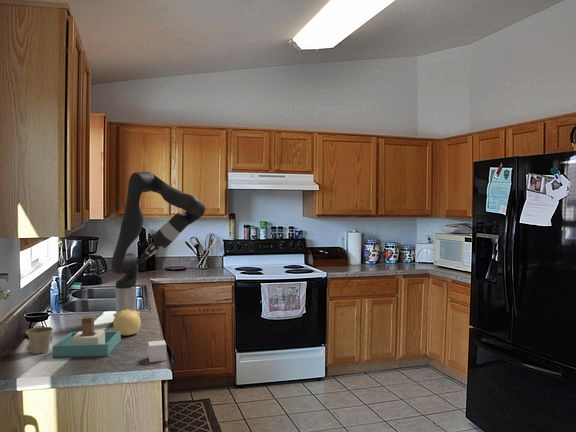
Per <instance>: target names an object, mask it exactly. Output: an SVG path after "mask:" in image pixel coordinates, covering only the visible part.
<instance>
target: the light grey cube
mask: <svg viewBox="0 0 576 432" xmlns="http://www.w3.org/2000/svg"><path fill="white" fill-rule="evenodd" d="M147 344H148V346H147V353H148V354H147V355H148V357H147V358H148V360H149V363H155V362H156V363H157V362H165V361H167V343H166V341H165V339H164V340H154V341H148V342H147Z"/></svg>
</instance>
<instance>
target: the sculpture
mask: <svg viewBox="0 0 576 432" xmlns="http://www.w3.org/2000/svg"><path fill="white" fill-rule="evenodd" d="M140 314H141V312H140V311H137V310H136V311H134V310H129V309H126V310H123V311H120V312H118V313H116V312H115V313H113V316H114V318H113V320H112V321H113V322H112V324H113V326H112V327H113V331H121V336H131V335H135V334H137V333H138V332H139V331H140V328H141V324H142V323H141V317H140Z"/></svg>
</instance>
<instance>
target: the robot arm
mask: <svg viewBox="0 0 576 432" xmlns="http://www.w3.org/2000/svg"><path fill="white" fill-rule="evenodd" d="M148 192H152V193H157V194H158V195H160V196H161V198H162V199H163V200H164V201H165V202H166V203H167V204H170V205H171V206H173V207H175V208H178V209H182V210H183V211H185V212H183V213H180V212H177V213H175V214H174V215H173V216H172V217H171V218H170V219H169V220H168V221H167V222H166V223H164V224H163V225H162V226H161V227H160V228H159V229H158V230H157V231H156V232H155V233H154V234H153V235H152V238H153V240H154V241H155V242H152V243H150V244H149V245H148V247H146V249H145V250H144V252H142V254H141V255H140V256H139V258H137V256H136V255H135V254H134V253H132V252H129V253H127V251H128V249H129V247H130V246H131V245H132V244H133V243H134V241H136V239H137V238H138V237H139V236H140V234H141V232H142V229H143V224H144V214H143V212H142V209H141V207H140V201H141V196H142V193H148ZM123 212H124V213H123V216H122V220H121V225H120V231H119V235H118V239H117V243H116V246H115V248H114V252H113V255H112V258H111V271H112V272H113V273H114V274H118V275H119V274H121V275H122V274H124V276H123V277H121V278H120V279H118V280H117V281H116V282H115V313H118V312H120V311H123V310H126V309H129V310H134V311H137V281H138V265H139V266H140V265H141V264H143V263H145V262H147V260H148V259H149V257H151V256H153V255H155V254H156V253H157V252H158V251H160V247H162V248H163V249H167V248H168V247H169V246H170V245H171V244H172V243H173V242H174V241H175V240H176V239H177V238H178V236H179V235H180V234H181V233H182V232H183V231H184V230H185V229H186V228H187V227H188V226H189V225H191V224H193V223H195V222H196V221H197V220H200V219H201V218H202V217H203V216H204V215H205V212H206V205H205V203H204V202H202V201H201V200H200V199H198V197H195V196H194V195H193V194H189V193H186V192H183V191H181V190H179V189H177V188H175V187H173V186H171V185H170V184H168V183H167V182H165V181H164V180H162V179H160V177H158V176H157V174H156V175H155V174H154V173H153V172H150V171H136V172H133V173H132V174H130V176H129V180H128V185H127V194H126V201H125V207H124V211H123Z"/></svg>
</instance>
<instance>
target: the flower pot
mask: <svg viewBox="0 0 576 432" xmlns="http://www.w3.org/2000/svg"><path fill="white" fill-rule="evenodd" d="M53 330H54V328H53V327H50V326H40V327H39V326H38V327H34V328H29V329H27V330H26V331H25V332H26V334H27V337H28V341H29V348H30V353H31V354H34V355H39V354H46V353H47V352H49V351H50V341H51V335H52V333H53Z"/></svg>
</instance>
